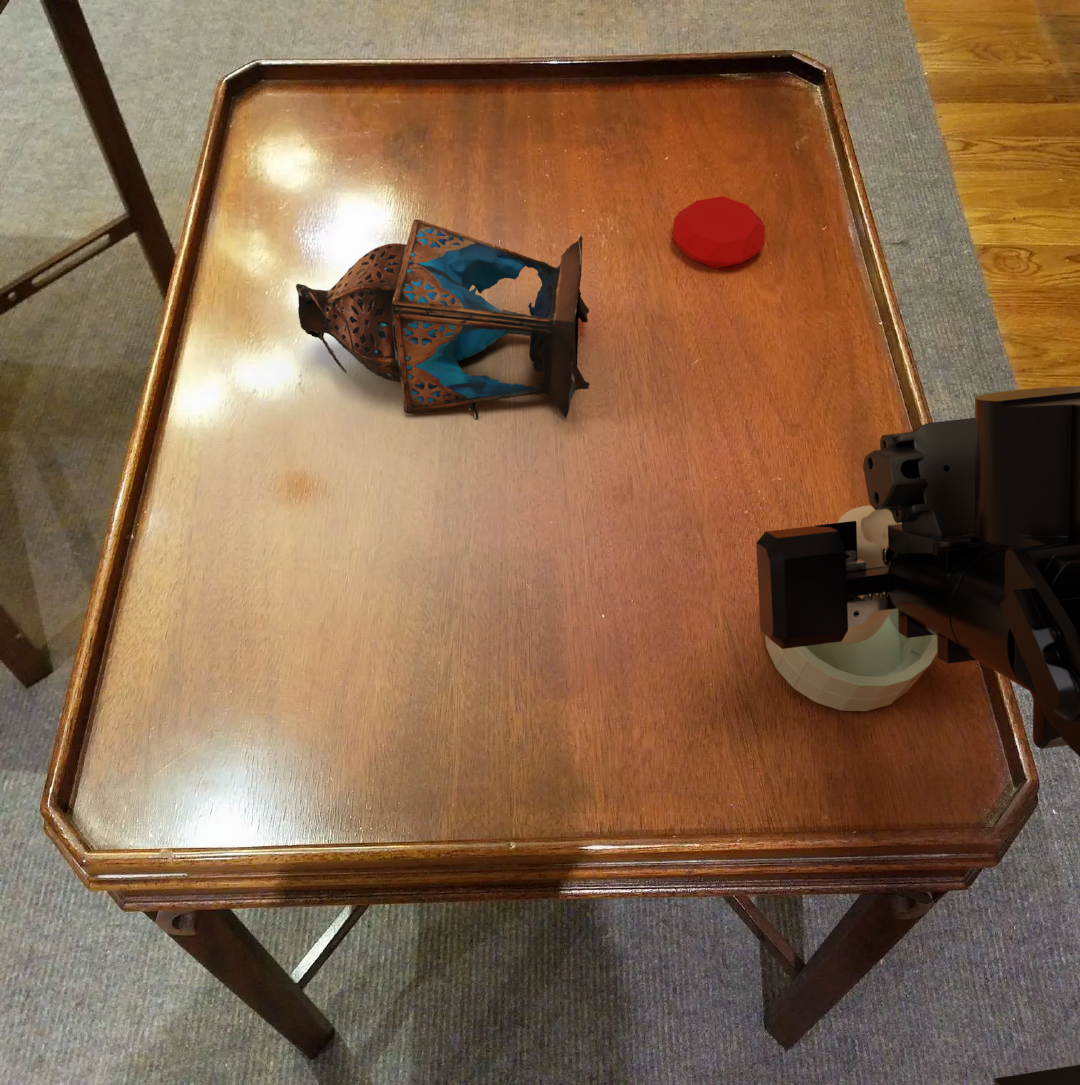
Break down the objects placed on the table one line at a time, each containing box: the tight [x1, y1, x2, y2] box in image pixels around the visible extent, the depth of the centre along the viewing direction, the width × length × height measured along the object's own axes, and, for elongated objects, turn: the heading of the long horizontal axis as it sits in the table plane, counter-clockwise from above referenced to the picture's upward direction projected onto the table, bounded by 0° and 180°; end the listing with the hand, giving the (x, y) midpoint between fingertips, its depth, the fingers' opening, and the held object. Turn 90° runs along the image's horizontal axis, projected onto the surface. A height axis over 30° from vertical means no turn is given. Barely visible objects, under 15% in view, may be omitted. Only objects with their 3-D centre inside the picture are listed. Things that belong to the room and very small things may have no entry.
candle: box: [836, 504, 902, 644], centre depth 59 cm, size 6×6×10 cm
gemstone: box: [671, 195, 766, 269], centre depth 90 cm, size 9×9×3 cm
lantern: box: [295, 218, 590, 420], centre depth 78 cm, size 16×16×25 cm
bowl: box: [764, 609, 937, 712], centre depth 66 cm, size 11×11×5 cm
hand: (863, 540), depth 58 cm, fingers closed on candle, 5 cm apart
